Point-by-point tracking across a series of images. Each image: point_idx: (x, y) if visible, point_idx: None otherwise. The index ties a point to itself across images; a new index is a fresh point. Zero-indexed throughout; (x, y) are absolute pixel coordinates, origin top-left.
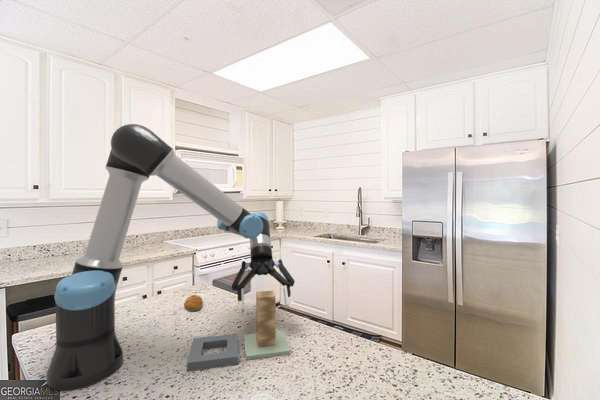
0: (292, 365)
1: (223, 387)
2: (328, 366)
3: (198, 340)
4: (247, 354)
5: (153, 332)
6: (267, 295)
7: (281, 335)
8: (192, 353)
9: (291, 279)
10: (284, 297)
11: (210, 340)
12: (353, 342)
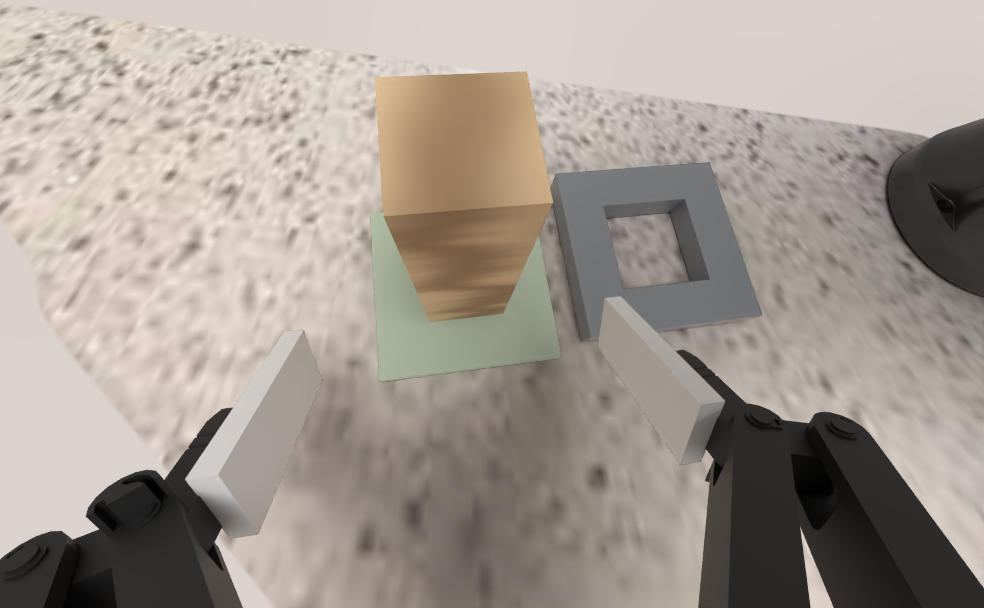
0: (376, 161)
1: (571, 104)
2: (258, 141)
3: (734, 294)
4: None
5: (958, 448)
6: (444, 104)
7: (391, 330)
8: (716, 210)
9: (12, 599)
10: (291, 434)
11: (687, 288)
12: (81, 269)
